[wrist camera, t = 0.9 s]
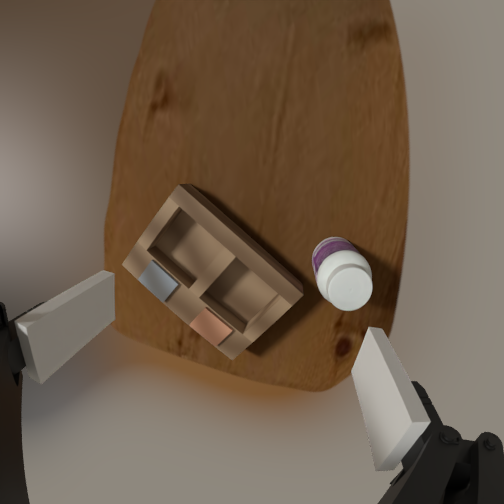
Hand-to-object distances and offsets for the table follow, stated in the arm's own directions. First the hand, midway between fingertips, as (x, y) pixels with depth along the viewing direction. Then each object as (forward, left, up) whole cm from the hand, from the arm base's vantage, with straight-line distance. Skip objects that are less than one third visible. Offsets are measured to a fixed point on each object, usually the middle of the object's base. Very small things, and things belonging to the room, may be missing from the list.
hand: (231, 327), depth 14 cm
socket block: (+7, -2, -20) cm, 21 cm away
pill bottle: (-4, +7, -21) cm, 22 cm away
